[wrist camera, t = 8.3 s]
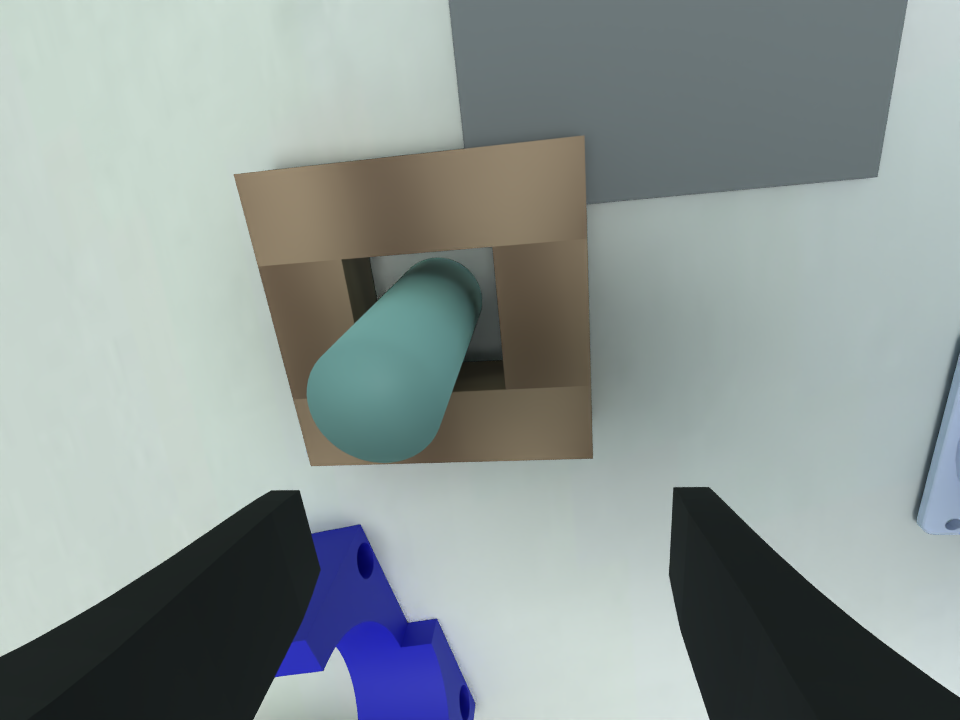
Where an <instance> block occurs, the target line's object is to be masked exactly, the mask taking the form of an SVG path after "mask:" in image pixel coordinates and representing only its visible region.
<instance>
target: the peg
mask: <svg viewBox="0 0 960 720" xmlns="http://www.w3.org/2000/svg"><path fill="white" fill-rule="evenodd" d="M481 307H482V296H481V291H480V287H479V285H478V283H477V281H476V279H475V277H474V276H473V275H472V274H471V272H470V271H469V270H468V269H466V268H465V267H464V266H462V265H461V264H459V263H457V262H455V261H453V260H450V259H445V258H430V259H426V260H423V261H421V262H419V263H417V264H415V265H414V266H413V267H411V268H410V269H409V270H408V271H407V272H406V273H405V274H404V275H403V276H402V277H401V278H400V279H399V280H398V281H397V282H396V283H395V284H394V285H393V286H392V287H391V288H390V289H389V290H388V291H387V292H386V293H385V294H384V295H383V296H382V297H381V298H380V299H379V300H378V301H377V302H376V303H375V304H374V305H373V306H372V307H371V308H370V309H369V310H368V311H367V312H366V313H365V314H364V315H363V316H362V317H361V318H360V319H359V320H358V321H357V322H356V323H355V324H354V325H353V326H352V327H351V328H350V329H349V330H348V331H347V332H345V333H344V334H343V335H342V336H341V337H340V338H339V339H338V340H337V341H336V342H335V343H334V344H333V345H332V346H331V347H330V348H329V349H328V350H327V351H326V352H325V353H324V354H323V355H322V356H321V357H320V358H319V359H318V361H317V362H316V363H315V365H314V367H313V369H312V371H311V373H310V376H309V379H308V384H307V402H308V407H309V410H310V413H311V416H312V418H313V420H314V422H315V424H316V426H317V427H318V429H319V430H320V431H321V433H322V434H323V435H324V436H325V437H326V438H327V439H328V440H329V441H330V442H331V443H332V444H333V445H334V446H336V447H337V448H339V449H340V450H341V451H343V452H345V453H347V454H349V455H351V456H353V457H356V458H358V459H361V460H365V461H370V462H376V463H392V462H398V461H402V460H405V459H408V458H410V457H413V456H415V455H416V454H418V453H420V452H421V451H422V450H424V449H425V448H426V447H427V446H428V445H429V444H430V443H431V442H432V440H433V439H434V437H435V436H436V434H437V432H438V430H439V427H440V425H441V422H442V419H443V416H444V413H445V410H446V408H447V405H448V402H449V399H450V396H451V394H452V391H453V388H454V385H455V382H456V379H457V377H458V374H459V371H460V368H461V365H462V363H463V360H464V357H465V354H466V351H467V349H468V346H469V343H470V340H471V337H472V334H473V332H474V329H475V326H476V323H477V320H478V318H479V315H480V311H481Z"/></svg>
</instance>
